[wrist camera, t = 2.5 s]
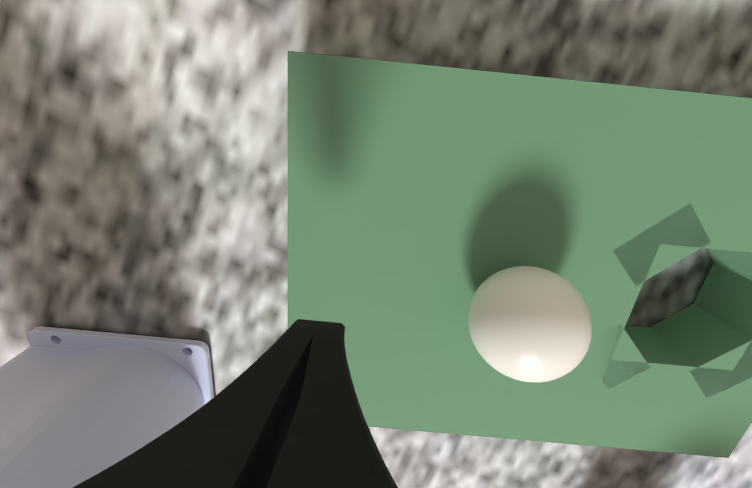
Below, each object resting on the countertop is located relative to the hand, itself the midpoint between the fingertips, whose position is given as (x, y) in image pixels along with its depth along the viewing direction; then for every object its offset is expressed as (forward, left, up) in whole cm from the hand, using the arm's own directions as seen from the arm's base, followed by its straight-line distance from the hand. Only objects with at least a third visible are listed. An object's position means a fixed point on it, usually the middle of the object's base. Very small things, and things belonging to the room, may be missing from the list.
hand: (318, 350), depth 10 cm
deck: (+9, 0, -8) cm, 12 cm away
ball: (+7, 0, -3) cm, 7 cm away
